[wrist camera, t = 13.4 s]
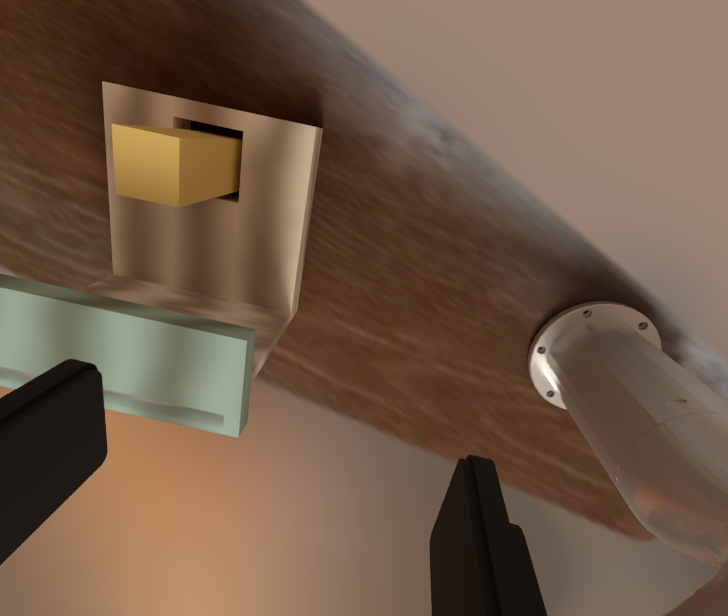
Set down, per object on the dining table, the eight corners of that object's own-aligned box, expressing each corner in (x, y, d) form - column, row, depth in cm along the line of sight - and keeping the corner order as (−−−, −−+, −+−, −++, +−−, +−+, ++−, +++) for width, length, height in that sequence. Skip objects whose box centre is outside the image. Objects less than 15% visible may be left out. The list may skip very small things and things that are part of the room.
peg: (247, 140, 36) (179, 137, 25) (243, 189, 38) (178, 207, 27) (200, 130, 36) (111, 123, 25) (198, 179, 38) (115, 193, 27)
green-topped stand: (333, 130, 35) (267, 115, 17) (305, 316, 42) (238, 437, 25) (114, 83, 35) (-172, 21, 17) (123, 277, 42) (-73, 370, 25)
